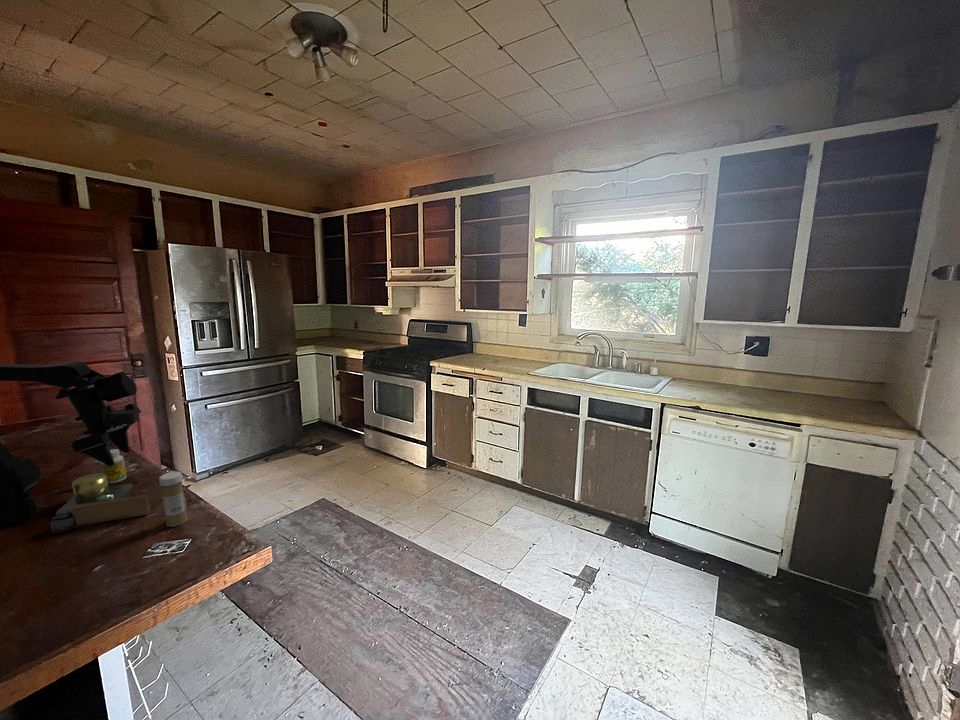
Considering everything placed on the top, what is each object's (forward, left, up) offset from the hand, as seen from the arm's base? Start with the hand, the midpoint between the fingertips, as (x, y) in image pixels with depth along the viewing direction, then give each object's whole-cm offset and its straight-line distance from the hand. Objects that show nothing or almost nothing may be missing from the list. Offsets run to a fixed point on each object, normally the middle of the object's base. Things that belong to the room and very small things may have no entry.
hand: (120, 458), depth 109 cm
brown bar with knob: (-2, -8, -13) cm, 16 cm away
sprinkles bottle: (+15, -15, -14) cm, 26 cm away
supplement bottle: (-10, +19, -14) cm, 25 cm away
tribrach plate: (-9, +5, -14) cm, 17 cm away
